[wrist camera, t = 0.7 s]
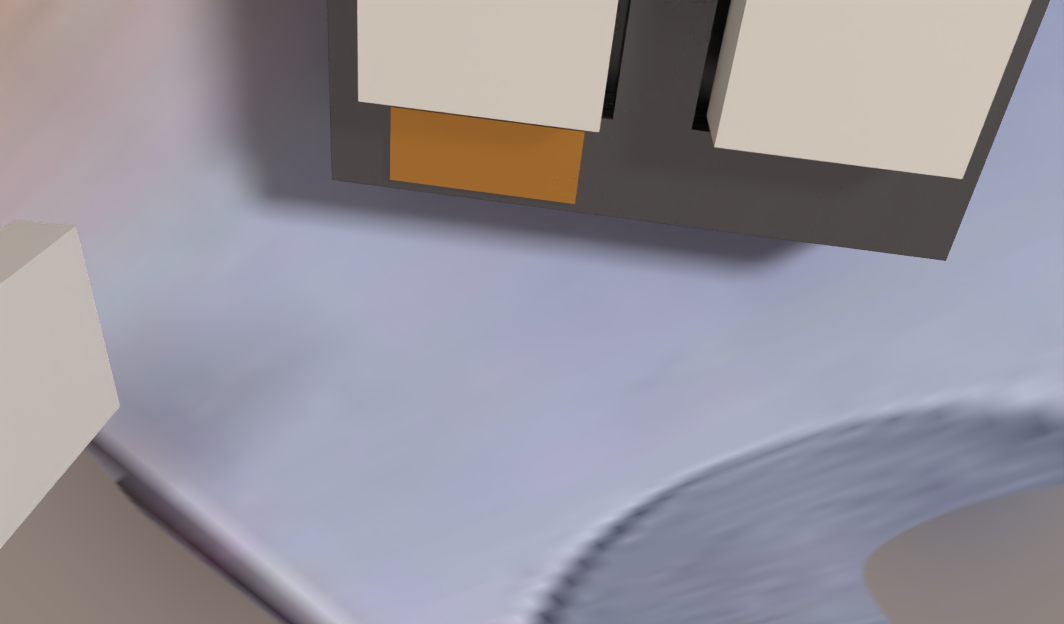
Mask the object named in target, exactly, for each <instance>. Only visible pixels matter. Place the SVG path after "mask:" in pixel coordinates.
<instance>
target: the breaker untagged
mask: <svg viewBox="0 0 1064 624" xmlns="http://www.w3.org/2000/svg"><path fill="white" fill-rule="evenodd" d="M1031 1H1032V0H731V2H730V6H729V11H728V16H727V21H726V25H725V30H724V35H723V39H722V44H721V49H720V54H719V58H718V63H717V68H716V73H715V77H714V82H713V87H712V91H711V96H710V101H709V106H708V110H707V115H706V116H707V120H708V124H709V128H710V132H711V136H712V140H713V144H714V147H717V148H724V149H732V150H740V151H748V152H756V153H763V154H771V155H779V156H787V157H794V158H802V159H810V160H818V161H825V162H833V163H841V164H849V165H856V166H864V167H872V168H880V169H888V170H895V171H903V172H911V173H919V174H926V175H934V176H942V177H950V178H957V179H963V176H964V173H965V171H966V168H967V166H968V163H969V161H970V158H971V155H972V153H973V150H974V148H975V145H976V143H977V140H978V137H979V135H980V132H981V130H982V127H983V125H984V122H985V119H986V117H987V114H988V112H989V109H990V107H991V104H992V101H993V99H994V96H995V94H996V91H997V89H998V86H999V83H1000V81H1001V78H1002V76H1003V73H1004V71H1005V68H1006V65H1007V63H1008V60H1009V58H1010V55H1011V53H1012V50H1013V47H1014V45H1015V42H1016V40H1017V37H1018V35H1019V32H1020V30H1021V27H1022V24H1023V22H1024V19H1025V17H1026V14H1027V12H1028V9H1029V6H1030V4H1031Z"/></svg>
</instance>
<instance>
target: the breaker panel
mask: <svg viewBox="0 0 1064 624" xmlns="http://www.w3.org/2000/svg"><path fill="white" fill-rule="evenodd" d="M1049 1H1050V0H1032V1H1031V4H1030V6H1029V9H1028V12H1027V14H1026V17H1025V19H1024V22H1023V24H1022V27H1021V30H1020V32H1019V35H1018V37H1017V40H1016V42H1015V45H1014V47H1013V50H1012V53H1011V55H1010V58H1009V60H1008V63H1007V65H1006V68H1005V71H1004V73H1003V76H1002V78H1001V81H1000V83H999V86H998V89H997V91H996V94H995V96H994V99H993V101H992V104H991V107H990V109H989V112H988V114H987V117H986V119H985V122H984V125H983V127H982V130H981V132H980V135H979V137H978V140H977V143H976V145H975V148H974V150H973V153H972V155H971V158H970V161H969V163H968V166H967V168H966V171H965V173H964V176H963V179H957V178H950V177H942V176H934V175H926V174H919V173H911V172H903V171H895V170H888V169H880V168H872V167H864V166H856V165H849V164H841V163H833V162H825V161H818V160H810V159H802V158H794V157H787V156H779V155H771V154H763V153H756V152H748V151H740V150H732V149H724V148H717V147H714V144H713V140H712V136H711V132H710V128H709V124H708V120H707V116H706V115H707V110H708V106H709V101H710V96H711V91H712V87H713V82H714V77H715V73H716V68H717V63H718V58H719V54H720V49H721V44H722V39H723V35H724V30H725V25H726V21H727V16H728V11H729V6H730V2H731V0H618V6H617V13H616V20H615V27H614V34H613V41H612V48H611V55H610V61H609V68H608V75H607V82H606V89H605V96H604V103H603V110H602V117H601V123H600V130H599V132H592V131H585V130H577V129H569V128H561V127H554V126H546V125H538V124H530V123H523V122H515V121H507V120H499V119H491V118H484V117H476V116H468V115H460V114H453V113H445V112H437V111H429V110H422V109H414V108H406V107H398V106H390V105H383V104H375V103H367V102H359V101H358V25H357V0H327V9H328V47H329V85H330V123H331V160H332V180H338V181H346V182H353V183H361V184H368V185H376V186H383V187H391V188H399V189H406V190H414V191H421V192H429V193H436V194H444V195H452V196H459V197H467V198H474V199H482V200H489V201H497V202H505V203H512V204H520V205H527V206H535V207H542V208H550V209H558V210H565V211H573V212H580V213H588V214H595V215H603V216H611V217H618V218H626V219H633V220H641V221H648V222H656V223H664V224H671V225H679V226H686V227H694V228H701V229H709V230H717V231H724V232H732V233H739V234H747V235H754V236H762V237H770V238H777V239H785V240H792V241H800V242H807V243H815V244H823V245H830V246H838V247H845V248H853V249H860V250H868V251H876V252H883V253H891V254H898V255H906V256H913V257H921V258H929V259H936V260H944V261H946V259H947V256H948V254H949V251H950V249H951V246H952V244H953V241H954V239H955V236H956V234H957V231H958V229H959V226H960V224H961V221H962V219H963V216H964V214H965V211H966V209H967V206H968V204H969V201H970V199H971V196H972V194H973V191H974V189H975V186H976V184H977V181H978V179H979V176H980V174H981V171H982V169H983V166H984V164H985V161H986V159H987V156H988V154H989V151H990V149H991V146H992V144H993V141H994V139H995V136H996V134H997V131H998V129H999V126H1000V124H1001V121H1002V119H1003V116H1004V114H1005V111H1006V109H1007V106H1008V104H1009V101H1010V99H1011V96H1012V94H1013V91H1014V89H1015V86H1016V84H1017V81H1018V79H1019V76H1020V74H1021V71H1022V69H1023V66H1024V64H1025V61H1026V59H1027V56H1028V54H1029V51H1030V49H1031V46H1032V44H1033V41H1034V39H1035V36H1036V34H1037V31H1038V29H1039V26H1040V24H1041V21H1042V19H1043V16H1044V14H1045V11H1046V9H1047V6H1048V4H1049Z"/></svg>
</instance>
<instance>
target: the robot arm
mask: <svg viewBox="0 0 1064 624" xmlns="http://www.w3.org/2000/svg"><path fill="white" fill-rule="evenodd" d="M119 407H120V404H119V400H118V396H117V392H116V388H115V383H114V379H113V375H112V371H111V367H110V363H109V359H108V355H107V351H106V347H105V343H104V339H103V334H102V330H101V326H100V322H99V318H98V314H97V310H96V306H95V302H94V298H93V294H92V290H91V285H90V281H89V277H88V273H87V269H86V265H85V261H84V257H83V253H82V249H81V245H80V241H79V236H78V232H77V228H76V226H72V225H62V224H53V223H43V222H33V221H23V220H14V221H12V222H11V223H10V224H8V225H7V226H5V227H4V228H2V229H1V230H0V549H1V547H2V546H3V545H4V544H5V543H6V541H7V540H8V539H9V538H10V537H11V535H12V534H13V533H14V532H15V531H16V529H17V528H18V527H19V526H20V525H21V524H22V522H23V521H24V520H25V519H26V517H27V516H28V515H29V514H30V513H31V512H32V510H33V509H34V508H35V507H36V506H37V504H38V503H39V502H40V501H41V500H42V499H43V497H44V496H45V495H46V494H47V493H48V491H49V490H50V489H51V488H52V487H53V485H54V484H55V483H56V482H57V481H58V479H59V478H60V477H61V476H62V475H63V474H64V472H65V471H66V470H67V469H68V468H69V467H70V465H71V464H72V463H73V462H74V460H75V459H76V458H77V457H78V456H79V454H80V453H81V452H82V451H83V450H84V449H85V448H86V446H87V445H88V444H89V443H90V442H91V440H92V439H93V438H94V437H95V436H96V434H97V433H98V432H99V431H100V430H101V428H102V427H103V426H104V425H105V424H106V423H107V421H108V420H109V419H110V418H111V417H112V415H113V414H114V413H115V412H116V411H117V409H118V408H119Z"/></svg>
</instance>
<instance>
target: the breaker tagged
mask: <svg viewBox="0 0 1064 624" xmlns="http://www.w3.org/2000/svg"><path fill="white" fill-rule="evenodd" d="M617 6H618V0H357V25H358V101H359V102H367V103H375V104H383V105H390V106H398V107H406V108H414V109H422V110H429V111H437V112H445V113H453V114H460V115H468V116H476V117H484V118H491V119H499V120H507V121H515V122H523V123H530V124H538V125H546V126H554V127H561V128H569V129H577V130H585V131H592V132H599V130H600V123H601V117H602V110H603V103H604V96H605V89H606V82H607V75H608V68H609V61H610V55H611V48H612V41H613V34H614V27H615V20H616V13H617Z"/></svg>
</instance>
